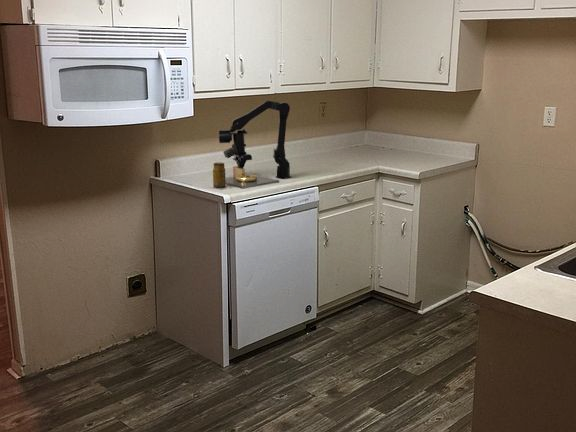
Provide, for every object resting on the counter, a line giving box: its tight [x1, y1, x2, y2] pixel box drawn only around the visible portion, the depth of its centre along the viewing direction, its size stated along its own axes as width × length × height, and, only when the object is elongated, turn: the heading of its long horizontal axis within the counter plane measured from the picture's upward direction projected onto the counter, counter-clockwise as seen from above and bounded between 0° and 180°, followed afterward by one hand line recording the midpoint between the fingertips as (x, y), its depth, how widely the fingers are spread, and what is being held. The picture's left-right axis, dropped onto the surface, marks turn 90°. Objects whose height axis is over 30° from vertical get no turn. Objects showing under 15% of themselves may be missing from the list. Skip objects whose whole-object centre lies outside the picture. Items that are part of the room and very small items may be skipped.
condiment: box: [210, 162, 231, 190], centre depth 313 cm, size 7×8×12 cm
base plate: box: [225, 173, 280, 189], centre depth 327 cm, size 24×24×1 cm
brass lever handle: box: [232, 165, 258, 181], centre depth 328 cm, size 12×16×5 cm
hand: (240, 171), depth 336 cm, fingers closed
